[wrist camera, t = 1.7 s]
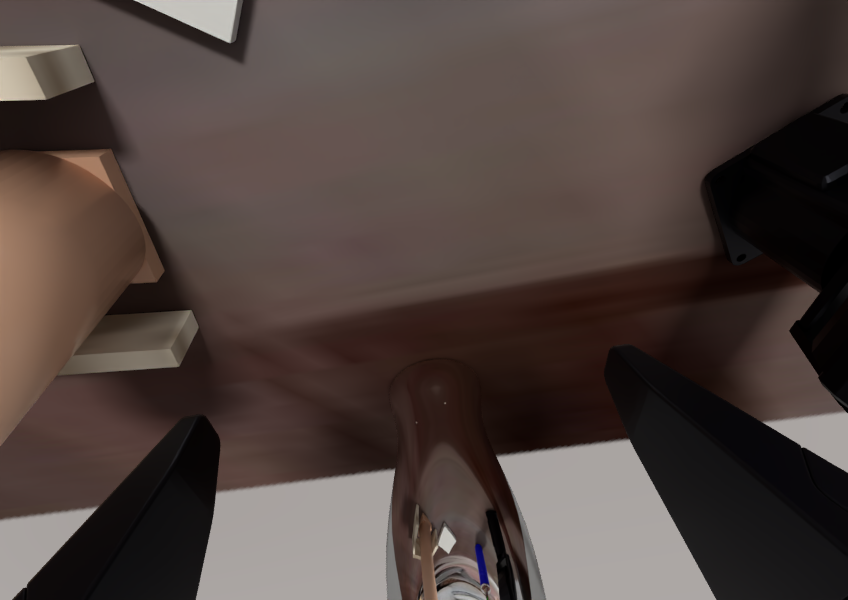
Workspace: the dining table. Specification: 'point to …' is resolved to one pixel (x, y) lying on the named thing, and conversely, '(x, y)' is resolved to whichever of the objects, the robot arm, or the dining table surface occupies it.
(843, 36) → the dining table surface
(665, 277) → the dining table surface
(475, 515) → the beer glass
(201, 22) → the tile
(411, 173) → the dining table surface
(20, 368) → the peach tapered rounded piece
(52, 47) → the frame
